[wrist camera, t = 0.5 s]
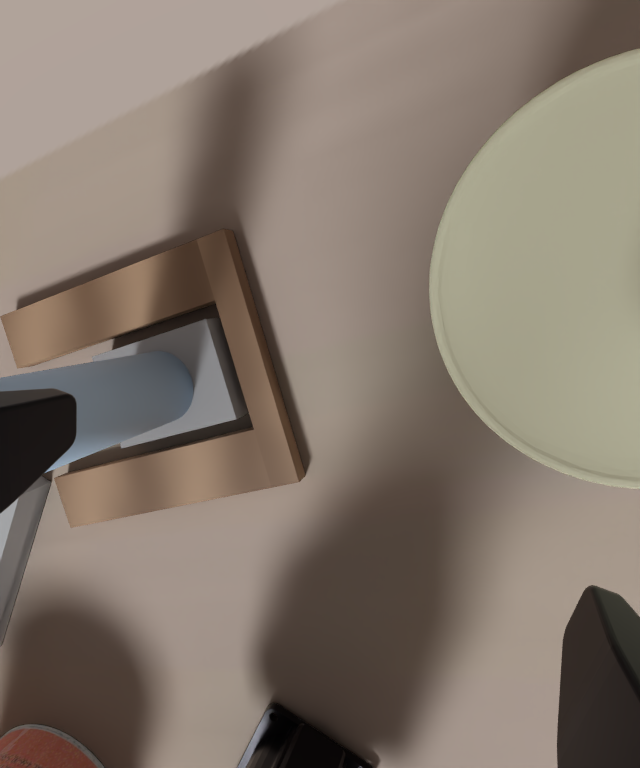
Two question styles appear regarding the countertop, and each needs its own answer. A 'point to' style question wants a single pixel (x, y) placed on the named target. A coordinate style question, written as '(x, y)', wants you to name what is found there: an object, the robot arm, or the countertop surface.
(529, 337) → the can
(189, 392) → the tall blue pillar
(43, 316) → the slot
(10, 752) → the canned food
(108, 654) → the countertop surface
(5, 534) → the tray
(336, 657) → the countertop surface
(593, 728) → the robot arm
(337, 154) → the countertop surface
